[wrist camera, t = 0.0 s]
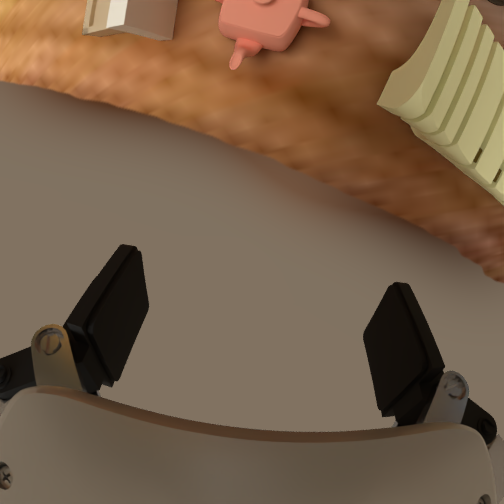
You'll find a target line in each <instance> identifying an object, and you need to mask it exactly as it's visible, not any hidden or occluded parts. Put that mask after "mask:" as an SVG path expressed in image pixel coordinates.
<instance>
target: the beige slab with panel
mask: <svg viewBox="0 0 504 504" xmlns="http://www.w3.org/2000/svg"><path fill="white" fill-rule="evenodd" d="M177 5H178V0H88V1H87V7H86V12H85V18H84V25H83V32H82V35H90V36H98V37H103V36H108V35H113V34H118V33H125V32H128V33H132V34H136V35H140V36H144V37H148V38H152V39H155V40H172V39H173V31H174V24H175V17H176V11H177Z"/></svg>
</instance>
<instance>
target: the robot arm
mask: <svg viewBox="0 0 504 504" xmlns="http://www.w3.org/2000/svg"><path fill="white" fill-rule="evenodd" d="M148 308H149V301H148V295H147V289H146V283H145V276H144V269H143V262H142V254H141V252H140V251H138V250H137V247H135V246H131V245H124V244H122V245H120V246H119V247H118V249H117V250H116V251H115V253H114V254H113V255H112V257H111V258H110V259H109V261H108V262H107V263H106V265H105V266H104V267H103V269H102V270H101V272H100V273H99V274H98V276H96V278H95V279H94V280H93V281H92V283H91V284H90V286H89V287H88V289H87V290H86V291H85V293H84V294H83V296H82V297H81V299H80V300H79V302H78V303H77V305H76V306H75V308H74V310H73V311H72V313H71V314H70V316H69V317H68V319H67V320H66V322H65V324H64V325H63V327H62V326H59V325H56V324H50V325H46V326H44V327H41V328H40V329H39V330H38V331H37V332H36V333H35V334H34V336H33V338H32V341H31V347H29V348H26V349H23V350H21V351H18V352H16V353H14V354H11V355H8V356H6V357H3V358H1V359H0V504H499V503H500V501H501V500H502V498H503V497H504V441H503V440H502V438H501V437H500V435H497V436H496V433H497V426H496V422H495V420H494V418H493V417H492V416H491V415H490V414H489V413H487V412H486V411H485V410H483V409H482V408H481V407H479V406H478V405H477V404H476V403H474V402H473V401H472V400H470V399H469V398H468V396H469V387H468V384H467V382H466V380H465V379H464V377H463V376H462V375H460V374H459V373H457V372H455V371H447V372H445V373H444V372H443V369H444V368H445V365H444V362H443V360H442V357H441V354H440V352H439V349H438V347H437V345H436V342H435V339H434V337H433V335H432V333H431V330H430V328H429V325H428V323H427V321H426V319H425V316H424V314H423V312H422V310H421V308H420V306H419V304H418V301H417V300H416V297H415V295H414V293H413V291H412V289H411V287H410V285H409V284H407V283H400V282H394V283H393V284H392V285H390V286H389V287H388V288H387V291H386V292H385V294H384V296H383V298H382V300H381V302H380V304H379V306H378V308H377V309H376V311H375V313H374V315H373V317H372V318H371V320H370V322H369V324H368V326H367V327H366V329H365V331H364V334H363V340H364V344H365V348H366V353H367V357H368V362H369V366H370V371H371V375H372V380H373V385H374V390H375V396H376V401H377V406H378V409H379V410H381V413H382V417H389V416H394V415H395V418H396V421H395V422H394V424H393V426H392V427H391V428H382V429H371V430H358V431H340V432H291V431H290V432H289V431H272V430H258V429H248V428H239V427H230V426H223V425H216V424H210V423H204V422H198V421H192V420H187V419H182V418H177V417H173V416H168V415H164V414H159V413H155V412H152V411H148V410H144V409H140V408H136V407H132V406H129V405H125V404H122V403H118V402H115V401H112V400H108V399H105V398H102V397H101V396H100V393H99V390H100V387H101V385H102V384H103V385H106V386H109V387H112V386H113V384H114V381H118V380H119V378H120V376H121V374H122V371H123V369H124V366H125V364H126V361H127V359H128V356H129V354H130V352H131V349H132V347H133V344H134V342H135V340H136V337H137V335H138V333H139V330H140V328H141V326H142V323H143V321H144V319H145V317H146V314H147V312H148Z"/></svg>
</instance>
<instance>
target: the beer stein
mask: <svg viewBox="0 0 504 504" xmlns="http://www.w3.org/2000/svg"><path fill="white" fill-rule="evenodd" d="M489 1H490V2H492V3H494V4H496V5H500V6H502V5H504V0H489Z"/></svg>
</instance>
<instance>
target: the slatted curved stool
mask: <svg viewBox="0 0 504 504" xmlns="http://www.w3.org/2000/svg"><path fill="white" fill-rule="evenodd" d="M469 1H470V0H441V3H440V5H439V8H438V10H437V12H436V14H435V17H434V19H433V21H432V23H431V25H430V27H429V29H428V31H427V33H426V35H425V37H424V38H423V40H422V42H421V43H420V45H419V47H418V48H417V50H416V51H415V52H414V54H413V55H412V56H411V58H410V59H409V60H408V61H407V62H406V63H405V64H404V65H402V66H401V67H399V68H398V69H396V70H394V71H392V73H391V75H390V77H389V79H388V81H387V83H386V86H385V88H384V90H383V92H382V94H381V96H380V98H379V100H378V102H377V105H379V106H380V107H382V108H384V109H385V110H387V111H389V112H390V113H392V114H395V115H397V116H400V117H401V118H400V119H402V120H403V121H405V122H406V123H408V124H409V125H410V126H411V129H412V131H413V133H414V134H415V135H416V136H417V137H418V138H420V139H421V140H423V141H424V142H425V143H427V144H428V145H429V146H431V147H432V148H433V149H435V150H436V151H437V152H439V153H440V154H441V155H442V156H444V157H445V158H446V159H447V160H449V161H450V162H451V163H453V164H454V165H455V166H456V167H457V168H458V169H459V170H461V171H462V172H463V173H464V174H465V175H467V176H468V177H470V178H471V179H472V180H474V181H475V182H476V183H478V184H479V185H480V186H482V187H483V188H484V189H485V190H487V191H488V192H489V193H490V194H492V195H493V196H494V197H495V198H496V199H497V200H498V201H499V202H500V203H501V204H502V205H503V206H504V50H503V48H502V47H501V45H500V44H499V42H493V40H494V35H493V33H492V31H491V30H490V28H489V27H488V25H487V24H484V25H481V23H482V20H483V17H482V15H481V14H480V12H479V11H478V9H477V7H476V6H475V5H471V6H468V4H469Z"/></svg>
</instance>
